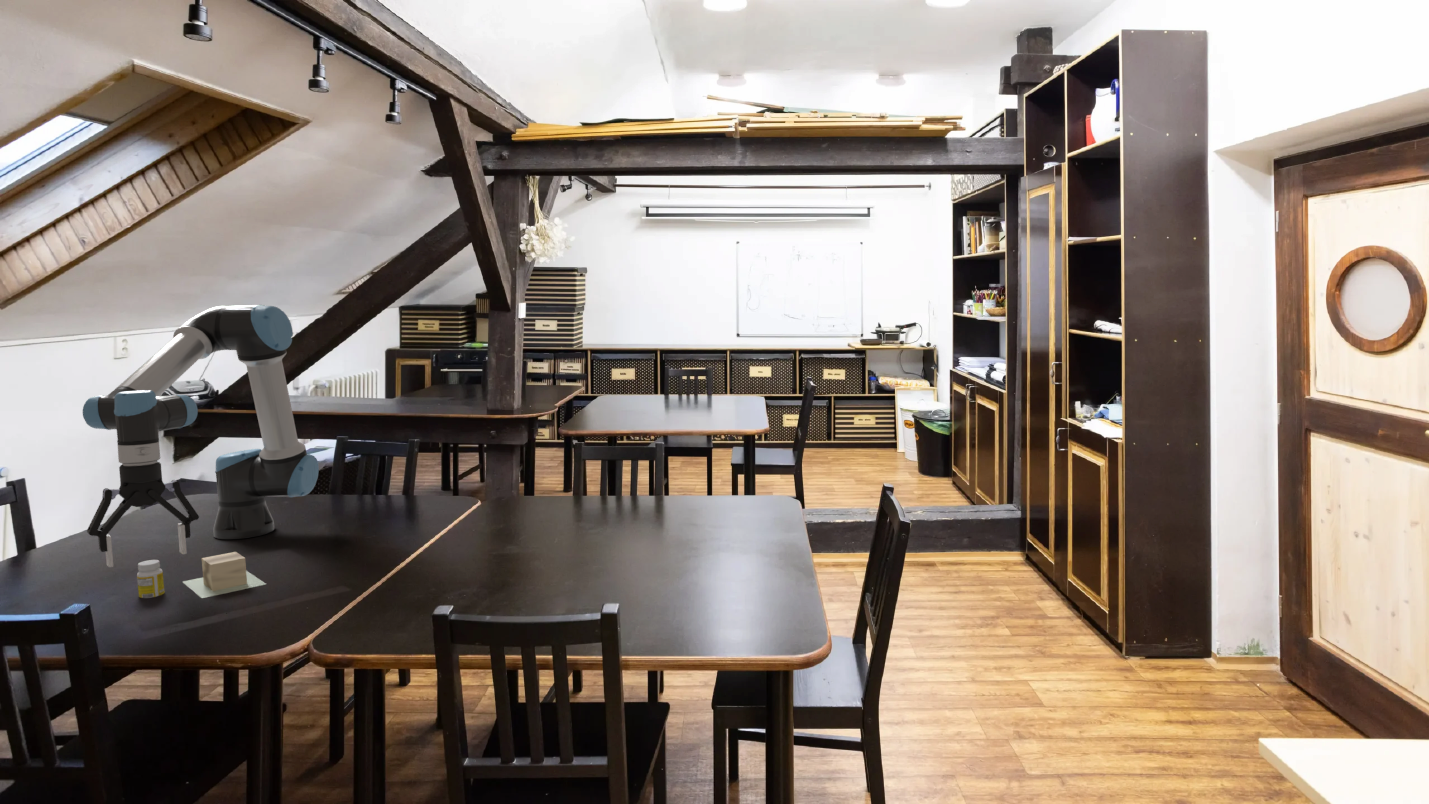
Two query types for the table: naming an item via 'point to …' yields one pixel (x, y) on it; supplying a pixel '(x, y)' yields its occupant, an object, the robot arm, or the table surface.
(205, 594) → the board
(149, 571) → the supplement bottle
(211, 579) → the beech block
